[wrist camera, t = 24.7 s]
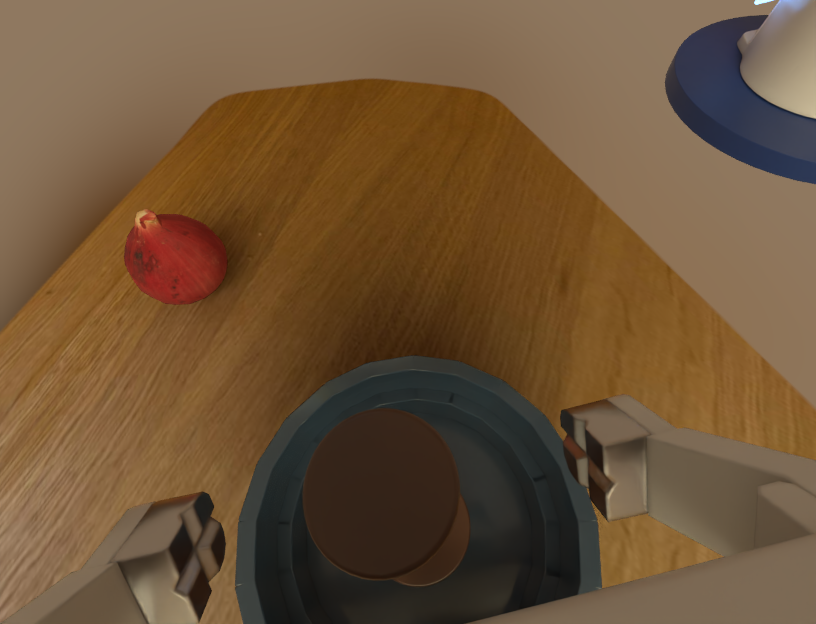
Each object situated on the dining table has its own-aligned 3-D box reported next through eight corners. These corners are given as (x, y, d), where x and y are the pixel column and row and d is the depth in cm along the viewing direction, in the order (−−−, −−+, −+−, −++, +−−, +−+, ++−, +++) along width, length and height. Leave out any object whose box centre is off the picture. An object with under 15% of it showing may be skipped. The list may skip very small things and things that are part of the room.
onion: (212, 335, 28) (139, 268, 21) (150, 308, 29) (63, 236, 22) (259, 272, 30) (208, 194, 23) (200, 250, 32) (136, 169, 25)
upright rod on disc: (437, 457, 23) (453, 264, 7) (485, 549, 20) (685, 592, 4) (356, 502, 22) (147, 403, 6) (397, 603, 19) (238, 915, 3)
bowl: (465, 355, 26) (473, 310, 21) (619, 598, 19) (688, 621, 14) (251, 463, 24) (200, 442, 18) (345, 788, 17) (306, 901, 12)
